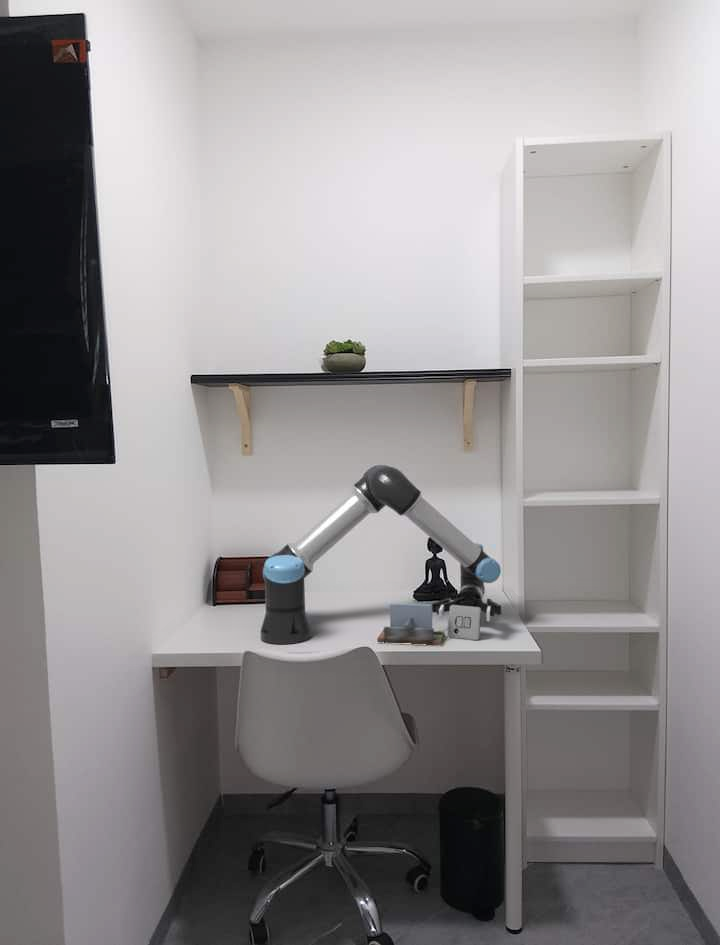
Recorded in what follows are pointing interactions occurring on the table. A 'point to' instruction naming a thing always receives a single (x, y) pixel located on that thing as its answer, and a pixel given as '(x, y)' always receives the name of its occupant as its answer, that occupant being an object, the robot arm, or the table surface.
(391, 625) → the upright blue panel
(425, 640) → the gauge base
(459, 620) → the electrical switch
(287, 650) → the table surface
